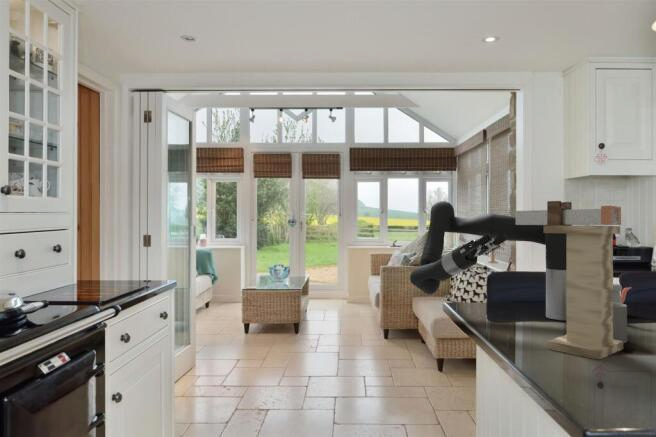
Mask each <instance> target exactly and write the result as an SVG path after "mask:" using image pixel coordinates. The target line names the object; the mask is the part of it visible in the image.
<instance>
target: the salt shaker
mask: <svg viewBox="0 0 656 437" xmlns="http://www.w3.org/2000/svg"><path fill="white" fill-rule="evenodd" d="M622 291H623V287H622V285H621V284H619V283H613V302H615V303H621V304H623V303H622V300H621V292H622Z"/></svg>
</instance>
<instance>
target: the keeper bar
mask: <svg viewBox="0 0 656 437" xmlns="http://www.w3.org/2000/svg"><path fill="white" fill-rule="evenodd" d="M515 218H516V225H547V209H541V210H515ZM561 225H572V226H621V225H622V207H621V206H616V205H601V206H600V208H586V209H583V208H577V209H576V208H575V209H572V210H561Z"/></svg>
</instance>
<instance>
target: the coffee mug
mask: <svg viewBox="0 0 656 437" xmlns="http://www.w3.org/2000/svg"><path fill="white" fill-rule="evenodd" d="M627 318H628V305H627V304H624V303H622V304H621V303H615V302H613V340H619V341H623V344H625V343H627V342H628V319H627Z"/></svg>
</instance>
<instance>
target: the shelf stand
mask: <svg viewBox="0 0 656 437" xmlns="http://www.w3.org/2000/svg"><path fill="white" fill-rule="evenodd" d="M546 202H547V203H546V205H547V206H546V208H547V209H546V210H547V226H544V233H567V320H566V334H565V335H561V336H559V337H555V338H552V339H549V340H547V349H548V350H552V351H556V352H562V353H566V354H570V355H575V356H579V357H583V356H584V357H585V358H589V359H594V360H597V359H598V361H599V359H600V360H601V359H604V358H607V357H609V356H611V355H613V354H615V353H618V352H620V351H622V350H624V343H623V341H619V340H613V284H614V248H613V247H614V244H613V243H614V238H613V237H614V235H620V234H621V225H561V210H572V208H573V207H572V205H573V204H572V201H563V202H562V201H561V200H550V201H549V200H548V201H546ZM617 351H618V352H617ZM608 355H609V356H608Z"/></svg>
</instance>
